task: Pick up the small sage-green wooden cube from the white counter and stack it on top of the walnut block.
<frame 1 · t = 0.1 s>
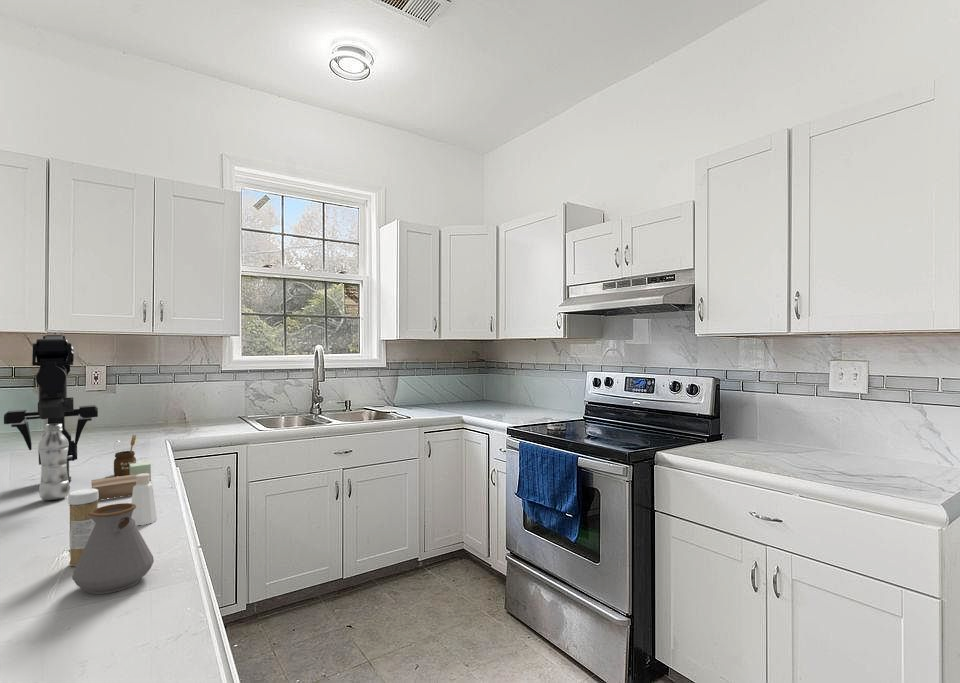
hand: (53, 447, 138), 15 cm above the counter, tool pointing down, fingers open, 9 cm apart
coffee pot: (118, 595, 87), on the counter
walnut block: (114, 495, 147), on the counter
sprinkles bottle: (84, 563, 100), on the counter
salt shaker: (143, 523, 123), on the counter
plastic bottle: (54, 500, 142), on the counter
sage cube: (140, 480, 161), on the counter
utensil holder: (125, 475, 169), on the counter
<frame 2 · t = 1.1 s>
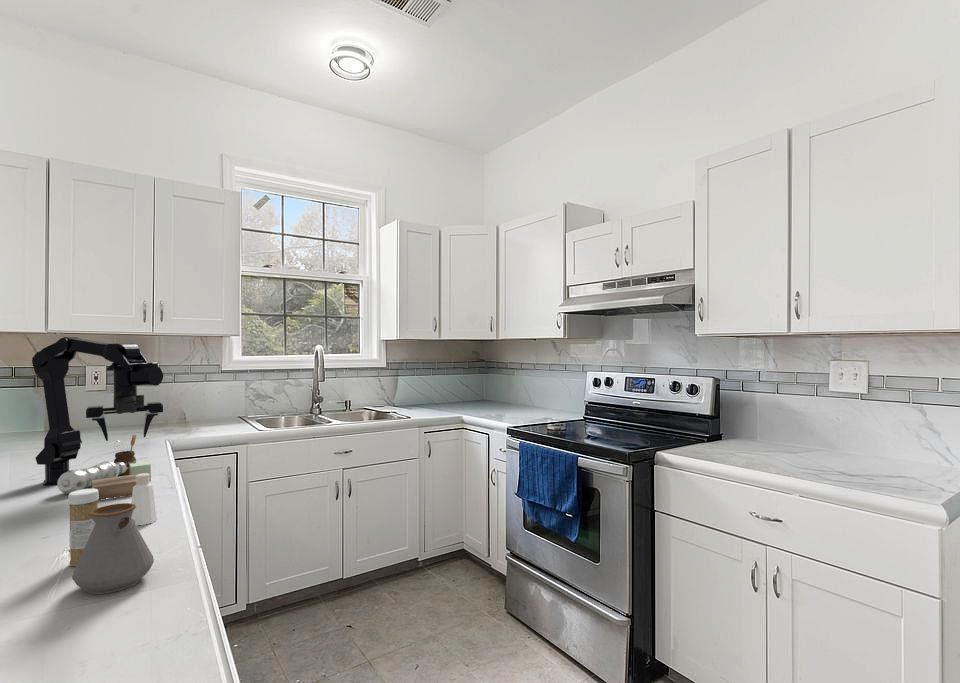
hand: (126, 438, 157), 13 cm above the counter, tool pointing down, fingers open, 9 cm apart
plastic bottle: (63, 484, 145), point 3 cm above the counter
everything else where it was.
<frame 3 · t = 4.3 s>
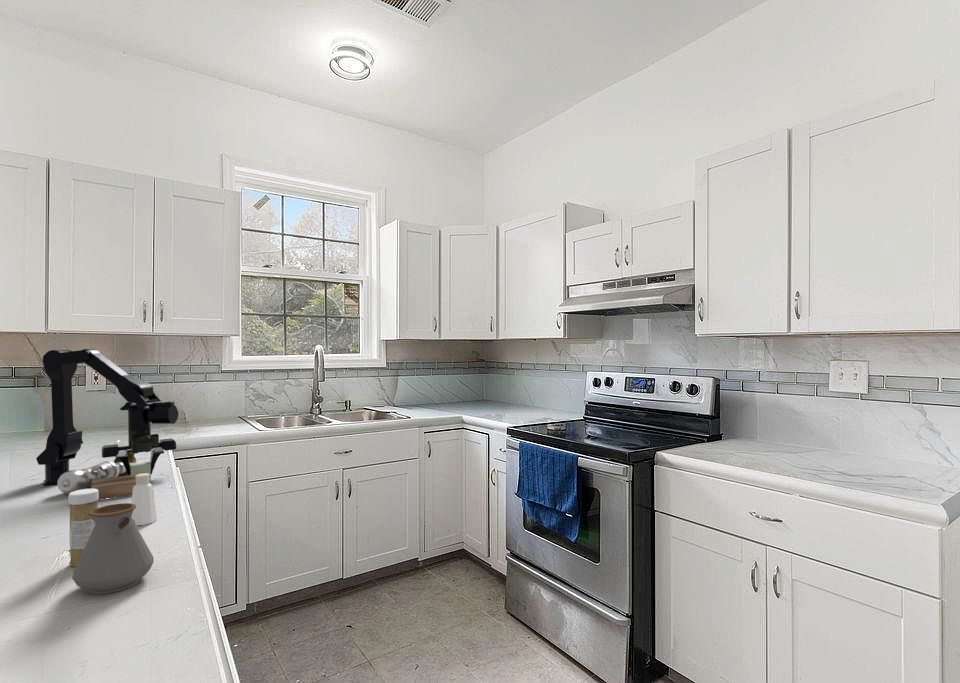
hand: (140, 476, 161), 1 cm above the counter, tool pointing down, fingers closed on sage cube, 5 cm apart
sage cube: (140, 480, 161), on the counter, touching gripper
everything else where it was.
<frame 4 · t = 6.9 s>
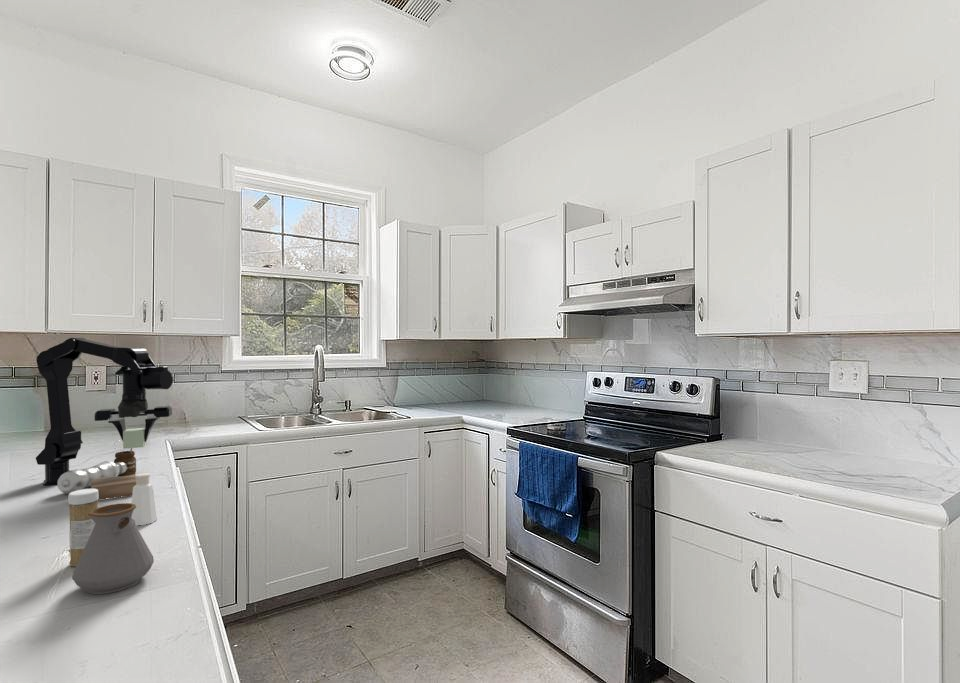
hand: (135, 442, 158), 12 cm above the counter, tool pointing down, fingers closed on sage cube, 5 cm apart
sage cube: (135, 446, 158), point 11 cm above the counter, touching gripper
everything else where it was.
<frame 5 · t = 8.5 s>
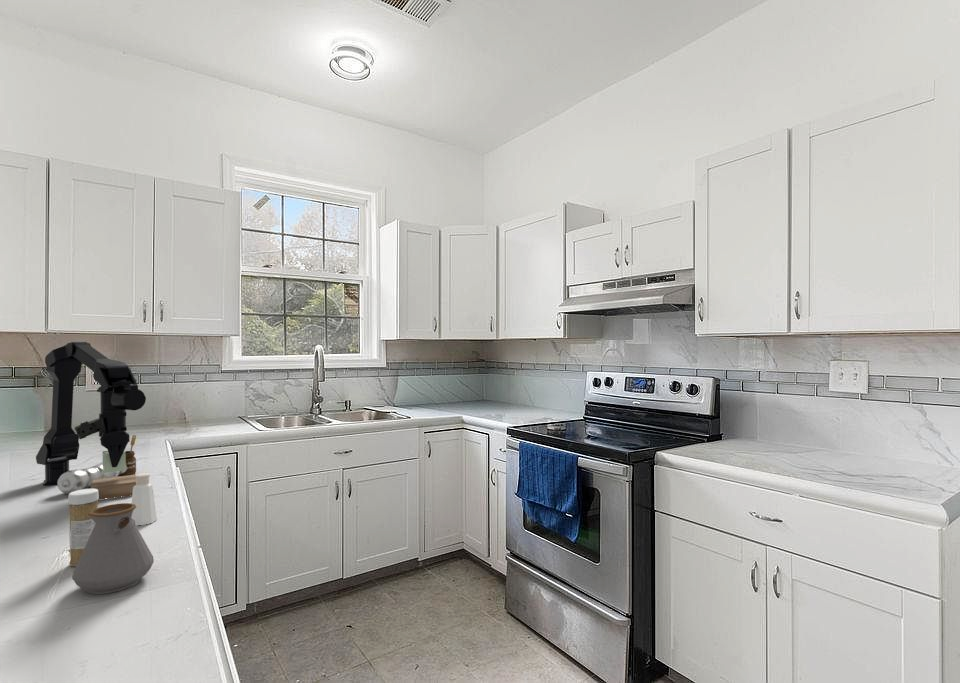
hand: (114, 465, 147), 8 cm above the counter, tool pointing down, fingers closed on sage cube, 5 cm apart
sage cube: (114, 469, 147), point 7 cm above the counter, touching gripper
everything else where it was.
when the fingers open (7 cm above the counter, at t = 9.5 s): sage cube drops 2 cm, resting on walnut block.
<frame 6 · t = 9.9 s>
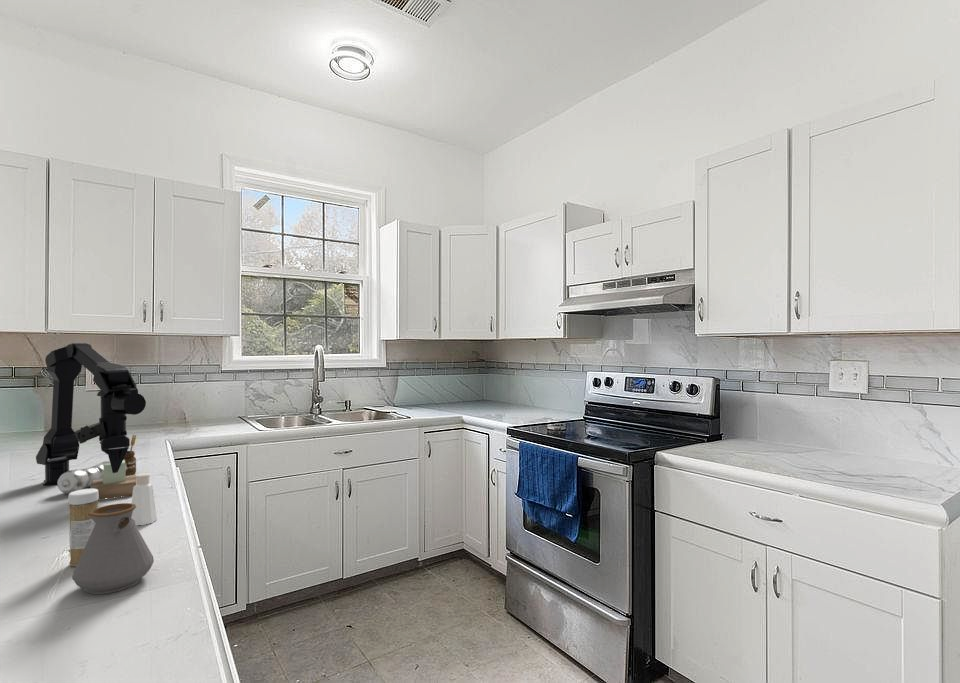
hand: (114, 469, 147), 7 cm above the counter, tool pointing down, fingers open, 9 cm apart
walnut block: (114, 495, 147), on the counter, touching sage cube
sage cube: (114, 480, 147), point 4 cm above the counter, touching walnut block
everything else where it was.
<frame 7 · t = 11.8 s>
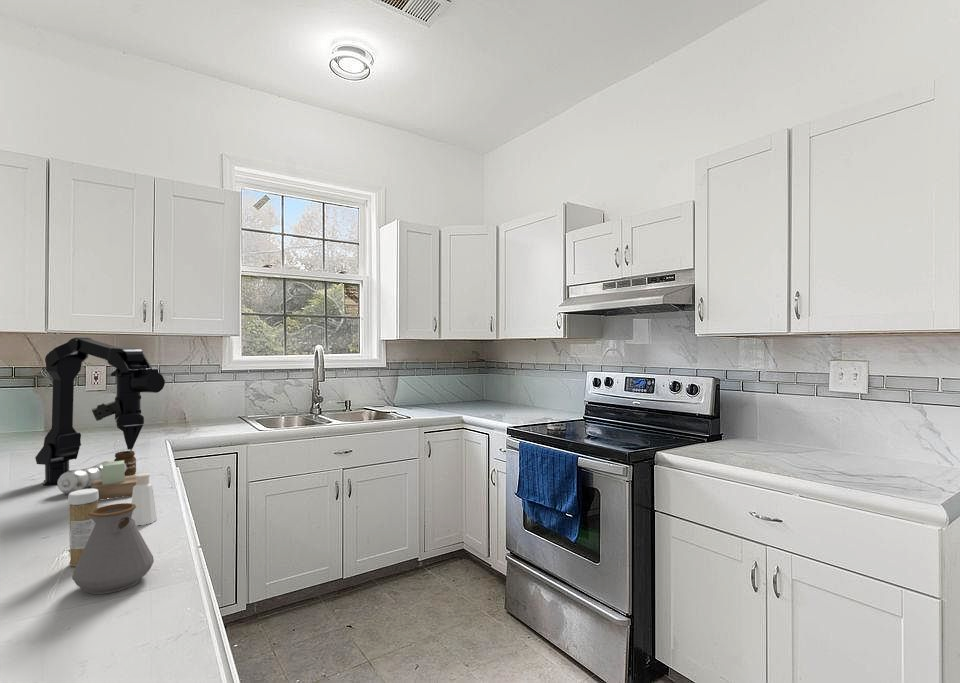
hand: (129, 446, 152), 12 cm above the counter, tool pointing down, fingers open, 9 cm apart
nothing on the counter moved.
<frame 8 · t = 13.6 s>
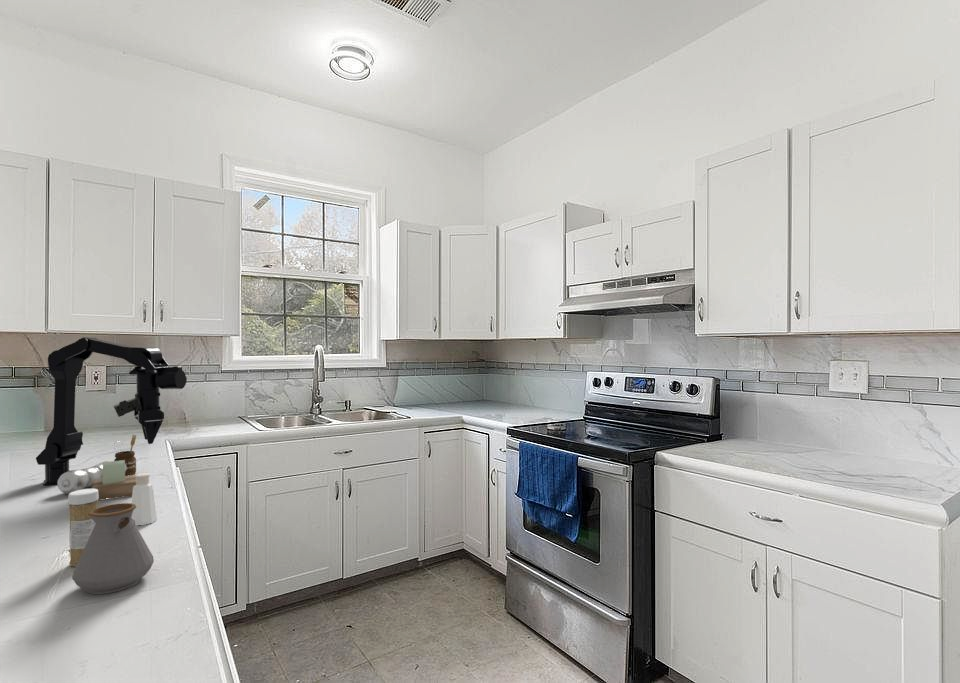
hand: (148, 441, 159), 12 cm above the counter, tool pointing down, fingers open, 9 cm apart
nothing on the counter moved.
at the end: sage cube 0.2 cm off-centre on the walnut block, point 4.0 cm above the walnut block's base; sage cube tilted 0°; the gripper is holding nothing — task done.
